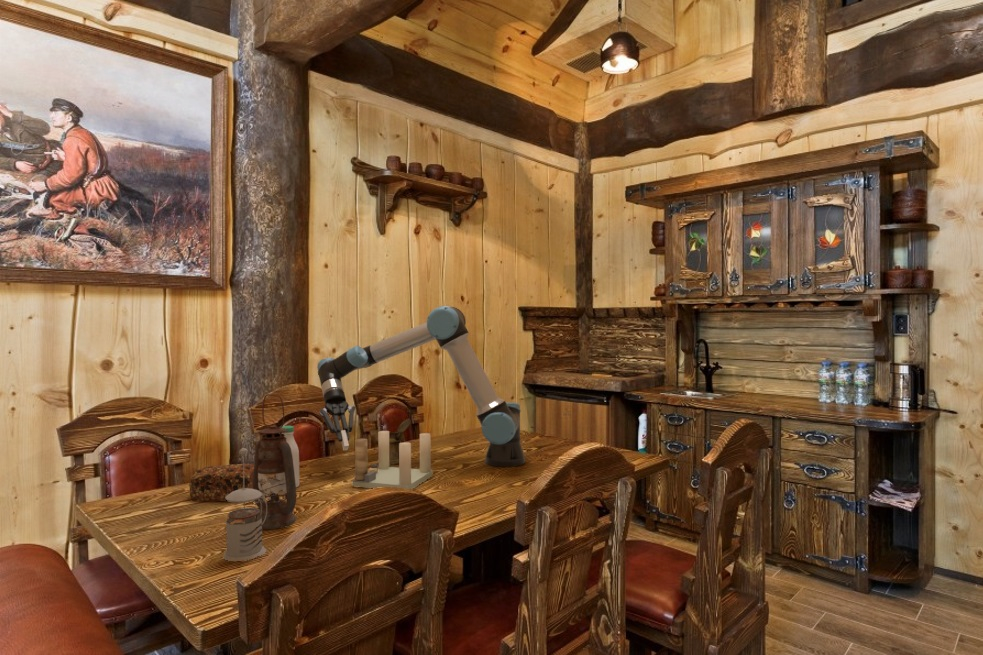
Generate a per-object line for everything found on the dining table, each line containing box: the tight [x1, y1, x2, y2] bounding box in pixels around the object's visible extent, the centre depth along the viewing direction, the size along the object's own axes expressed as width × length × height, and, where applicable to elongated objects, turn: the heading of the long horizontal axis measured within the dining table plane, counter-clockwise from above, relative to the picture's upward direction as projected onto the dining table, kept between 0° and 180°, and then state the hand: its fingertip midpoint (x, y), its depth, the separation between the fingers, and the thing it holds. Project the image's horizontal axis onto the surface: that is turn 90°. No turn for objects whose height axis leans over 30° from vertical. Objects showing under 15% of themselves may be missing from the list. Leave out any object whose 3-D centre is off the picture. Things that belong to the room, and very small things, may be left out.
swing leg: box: [354, 438, 379, 480], centre depth 199 cm, size 12×4×13 cm, turn 163°
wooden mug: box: [389, 417, 411, 466], centre depth 226 cm, size 9×14×18 cm, turn 58°
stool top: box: [350, 430, 434, 491], centre depth 200 cm, size 21×21×15 cm
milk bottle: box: [274, 425, 300, 491], centre depth 194 cm, size 8×8×20 cm
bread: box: [188, 463, 254, 502], centre depth 184 cm, size 19×11×10 cm, turn 88°
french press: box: [222, 447, 267, 562], centre depth 140 cm, size 10×12×25 cm
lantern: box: [253, 393, 297, 530], centre depth 160 cm, size 11×16×35 cm
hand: (346, 448), depth 202 cm, fingers closed
